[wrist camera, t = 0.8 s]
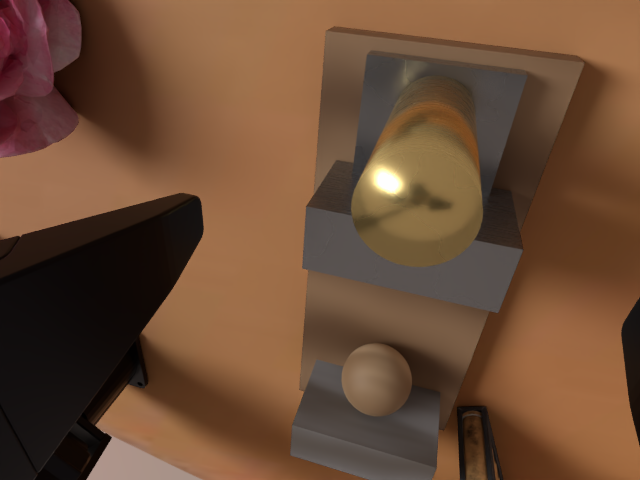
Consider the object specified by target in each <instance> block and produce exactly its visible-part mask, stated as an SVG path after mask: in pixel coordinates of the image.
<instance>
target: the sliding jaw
mask: <svg viewBox="0 0 640 480" xmlns="http://www.w3.org/2000/svg"><path fill="white" fill-rule="evenodd" d="M527 76H528V75H527V73H526V72H525V70H520V69H513V68H505V67H497V66H489V65H482V64H474V63H466V62H458V61H451V60H443V59H435V58H427V57H420V56H412V55H404V54H396V53H389V52H381V51H373V50H371V51H370V52H369V53H368V54H367V58H366V66H365V74H364V82H363V90H362V98H361V106H360V114H359V123H358V131H357V139H356V147H355V155H354V163H351V162H346V161H340V160H336V161H335V163H334V164H333V166H332V167H331V169H330V170H329V172H328V173H327V175H326V177H325V178H324V180H323V181H322V183H321V184H320V186H319V187H318V189H317V191H316V192H315V194H314V195H313V197H312V198H311V200H310V201H309V203H308V205H307V206H306V219H305V235H304V250H303V266H302V268H303V269H307V270H311V271H316V272H320V273H325V274H329V275H333V276H338V277H342V278H346V279H351V280H355V281H360V282H364V283H368V284H373V285H377V286H382V287H386V288H390V289H395V290H399V291H404V292H408V293H412V294H417V295H421V296H425V297H430V298H434V299H439V300H443V301H447V302H452V303H456V304H461V305H465V306H469V307H474V308H478V309H482V310H487V311H491V312H496V313H498V312H499V310H500V307H501V305H502V302H503V300H504V297H505V295H506V292H507V290H508V287H509V285H510V282H511V280H512V277H513V275H514V272H515V270H516V267H517V265H518V262H519V260H520V257H521V255H522V252H523V246H522V241H521V236H520V231H519V227H518V222H517V217H516V212H515V207H514V202H513V198H512V193H511V191H508V190H503V189H497V188H492V185H493V182H494V179H495V176H496V173H497V170H498V167H499V163H500V160H501V157H502V154H503V151H504V148H505V145H506V142H507V138H508V135H509V132H510V129H511V126H512V123H513V120H514V117H515V113H516V110H517V107H518V104H519V101H520V98H521V95H522V92H523V88H524V85H525V82H526V79H527Z"/></svg>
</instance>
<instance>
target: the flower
mask: <svg viewBox="0 0 640 480" xmlns="http://www.w3.org/2000/svg"><path fill="white" fill-rule="evenodd" d="M81 39H82V30H81V21H80V15H79V12H78V10H77V9H76V8H75V7H74V5H73V4H72V3H71V2H69V1H68V0H0V158H1V157H11V156H16V155H21V154H26V153H31V152H35V151H38V150H41V149H44V148H46V147H47V146H49V145H51V144H52V143H55V142H59V141H60V140H62V139H64V138H65V137H67V136H68V135H69V134H70V133H72V132H73V131H74V129H75V128H76V126H77V125H78V123H79V122H78V115H77V113H76V112H75V111H74V110H73V108H72V107H71V106H70V105H69V104H68V102H67V101H66V100H65V99H64V97H63V96H62V95H61V94H60V93H59V91H58V90H57V89H56V88H55V87H54V86H53V83H54V72H57V71H59V70H61V69H63V68H64V67H66V66H67V65H69V64H70V63H72V62H73V61H74V60H76V59H77V58H78V57H79V54H80V49H81Z"/></svg>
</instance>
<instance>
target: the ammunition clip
mask: <svg viewBox="0 0 640 480" xmlns="http://www.w3.org/2000/svg"><path fill="white" fill-rule="evenodd" d="M457 416H458V442H459V468H460V480H503V476H502V472H501V468H500V463H499V459H498V455H497V451H496V446H495V442H494V438H493V434H492V429H491V425H490V421H489V417H488V412H487V408H486V407H457Z"/></svg>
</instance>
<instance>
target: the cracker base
mask: <svg viewBox="0 0 640 480" xmlns="http://www.w3.org/2000/svg"><path fill="white" fill-rule="evenodd" d="M371 50H373V51H381V52H389V53H396V54H404V55H412V56H420V57H427V58H435V59H443V60H451V61H458V62H466V63H474V64H482V65H489V66H497V67H505V68H513V69H520V70H525V72H526V73H527V75H528V76H527V79H526V82H525V85H524V88H523V92H522V95H521V98H520V101H519V104H518V107H517V110H516V113H515V117H514V120H513V123H512V126H511V129H510V132H509V135H508V138H507V142H506V145H505V148H504V151H503V154H502V157H501V160H500V163H499V167H498V170H497V173H496V176H495V179H494V182H493V185H492V188H497V189H503V190H508V191H511V193H512V198H513V202H514V207H515V212H516V217H517V222H518V227H519V231H521V228H522V226H523V223H524V220H525V218H526V215H527V213H528V210H529V207H530V205H531V202H532V200H533V197H534V194H535V192H536V189H537V187H538V184H539V181H540V179H541V176H542V173H543V171H544V168H545V166H546V163H547V160H548V158H549V155H550V153H551V150H552V147H553V145H554V142H555V140H556V137H557V134H558V132H559V129H560V126H561V124H562V121H563V119H564V116H565V113H566V111H567V108H568V106H569V103H570V100H571V98H572V95H573V92H574V90H575V87H576V85H577V82H578V79H579V77H580V74H581V72H582V69H583V66H584V64H585V62H583V61H582V60H581V59H580V58H579V57H577V56H575V55H566V54H558V53H550V52H542V51H533V50H525V49H517V48H508V47H500V46H492V45H484V44H475V43H467V42H459V41H451V40H442V39H434V38H426V37H417V36H409V35H401V34H393V33H384V32H376V31H368V30H359V29H351V28H343V27H335V26H334V27H332V28H330V29H328V30H326V36H325V49H324V63H323V76H322V90H321V103H320V117H319V130H318V144H317V158H316V171H315V185H314V194H315V192H316V191H317V189H318V187H319V186H320V184H321V183H322V181H323V180H324V178H325V177H326V175H327V173H328V172H329V170H330V169H331V167H332V166H333V164H334V163H335V161H336V160H340V161H346V162H351V163H354V155H355V147H356V139H357V131H358V123H359V114H360V106H361V98H362V90H363V82H364V74H365V66H366V58H367V54H368V53H369V52H370V51H371ZM489 312H490V311H487V310H482V309H478V308H474V307H469V306H465V305H461V304H456V303H452V302H447V301H443V300H439V299H434V298H430V297H425V296H421V295H417V294H412V293H408V292H404V291H399V290H395V289H390V288H386V287H382V286H377V285H373V284H368V283H364V282H360V281H355V280H351V279H346V278H342V277H338V276H333V275H329V274H325V273H320V272H316V271H311V270H308V280H307V293H306V307H305V320H304V334H303V347H302V361H301V374H300V388H299V390H301V391H305V392H304V395H303V397H302V400H301V403H300V405H299V408H298V411H297V413H296V416H295V419H294V422H293V424H292V436H291V452H290V455H291V456H294V457H297V458H301V459H304V460H307V461H310V462H314V463H317V464H320V465H323V466H326V467H330V468H333V469H336V470H339V471H342V472H346V473H349V474H352V475H355V476H359V477H362V478H365V479H368V480H432V478H433V476H434V473H435V471H436V468H437V450H438V431H439V429H440V430H444V429H445V427H446V424H447V422H448V419H449V416H450V414H451V411H452V408H453V406H454V403H455V401H456V398H457V395H458V393H459V390H460V388H461V385H462V382H463V380H464V377H465V375H466V372H467V369H468V367H469V364H470V361H471V359H472V356H473V354H474V351H475V348H476V346H477V343H478V341H479V338H480V335H481V333H482V330H483V328H484V325H485V322H486V320H487V317H488V314H489Z"/></svg>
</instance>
